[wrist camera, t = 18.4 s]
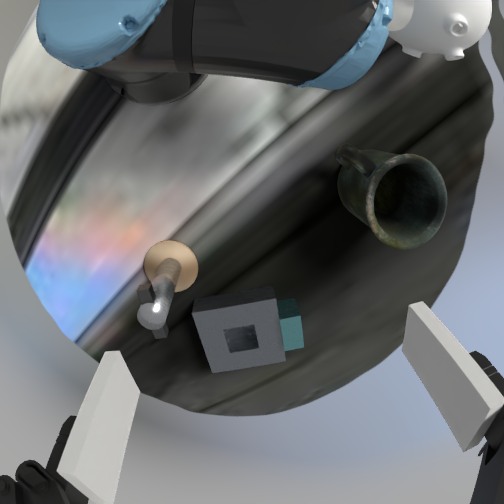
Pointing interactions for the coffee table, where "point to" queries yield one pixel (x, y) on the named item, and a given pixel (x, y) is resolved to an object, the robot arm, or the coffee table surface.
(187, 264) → the coaster
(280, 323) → the block
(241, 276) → the coffee table surface
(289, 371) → the coffee table surface
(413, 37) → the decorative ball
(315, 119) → the coffee table surface
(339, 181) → the mug
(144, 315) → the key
